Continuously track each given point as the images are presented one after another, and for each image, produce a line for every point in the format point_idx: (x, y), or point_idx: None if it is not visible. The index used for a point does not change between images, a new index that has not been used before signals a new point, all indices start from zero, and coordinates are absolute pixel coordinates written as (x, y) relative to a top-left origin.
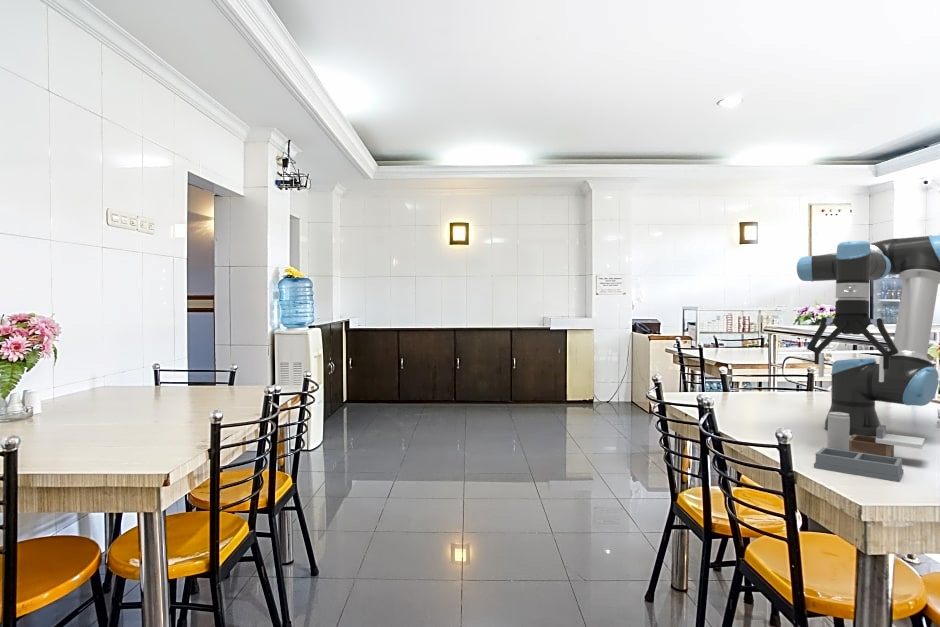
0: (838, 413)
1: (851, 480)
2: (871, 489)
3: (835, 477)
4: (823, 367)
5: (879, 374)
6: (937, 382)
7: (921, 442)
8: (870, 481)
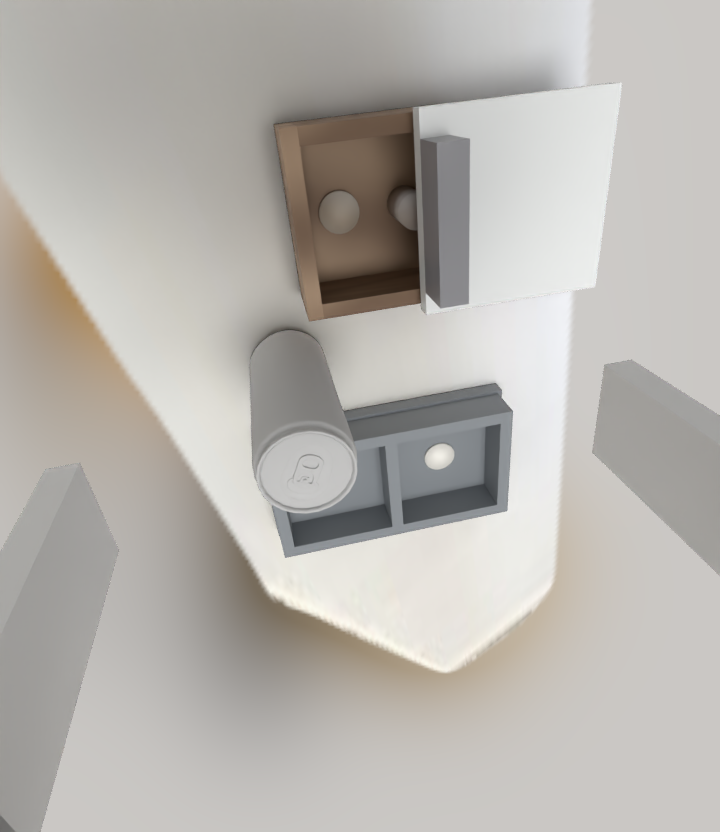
0: (303, 468)
1: (394, 558)
2: (445, 586)
3: (356, 564)
4: (54, 555)
5: (637, 494)
6: None
7: (598, 227)
8: (432, 532)
